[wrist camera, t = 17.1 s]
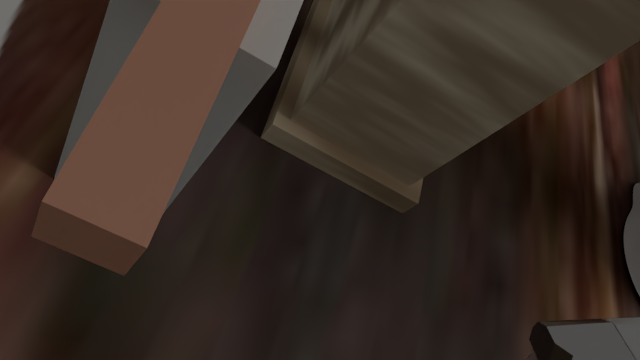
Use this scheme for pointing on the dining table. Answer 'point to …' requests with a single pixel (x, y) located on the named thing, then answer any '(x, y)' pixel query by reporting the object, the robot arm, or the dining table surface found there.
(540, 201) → the dining table surface
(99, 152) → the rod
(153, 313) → the dining table surface
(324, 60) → the stand
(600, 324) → the robot arm
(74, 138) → the seat block
